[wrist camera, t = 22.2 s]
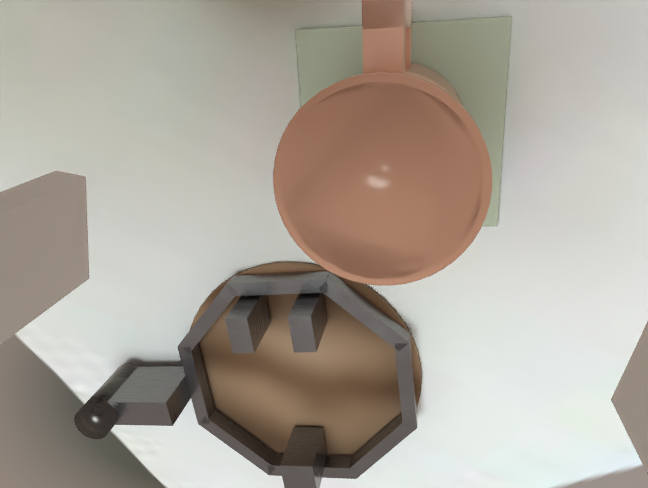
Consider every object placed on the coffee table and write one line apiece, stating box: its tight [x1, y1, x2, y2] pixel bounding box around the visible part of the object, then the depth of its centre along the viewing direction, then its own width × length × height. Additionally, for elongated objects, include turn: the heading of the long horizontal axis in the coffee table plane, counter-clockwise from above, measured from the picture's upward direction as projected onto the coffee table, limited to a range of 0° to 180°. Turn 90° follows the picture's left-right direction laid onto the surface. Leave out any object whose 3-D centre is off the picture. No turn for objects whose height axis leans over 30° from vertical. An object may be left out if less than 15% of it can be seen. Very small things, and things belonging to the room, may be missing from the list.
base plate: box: [190, 262, 421, 457], centre depth 40 cm, size 18×18×1 cm
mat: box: [295, 16, 512, 226], centre depth 32 cm, size 12×12×1 cm
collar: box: [74, 271, 417, 488], centre depth 38 cm, size 24×17×6 cm
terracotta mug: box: [273, 0, 492, 285], centre depth 26 cm, size 9×11×12 cm
